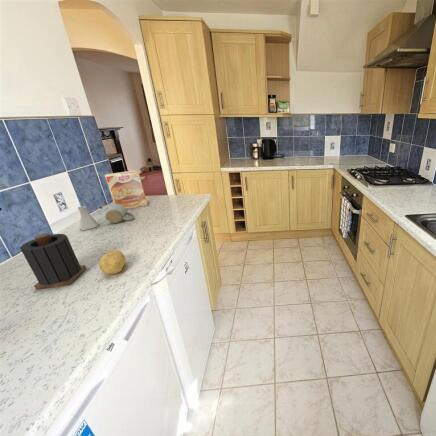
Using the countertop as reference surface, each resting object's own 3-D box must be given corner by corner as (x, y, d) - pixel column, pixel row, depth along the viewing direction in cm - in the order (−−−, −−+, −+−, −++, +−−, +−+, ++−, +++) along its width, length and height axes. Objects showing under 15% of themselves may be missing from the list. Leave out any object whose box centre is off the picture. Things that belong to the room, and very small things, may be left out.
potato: (98, 282, 75) (91, 265, 73) (108, 263, 85) (102, 248, 82) (123, 276, 77) (117, 260, 75) (130, 259, 87) (125, 243, 84)
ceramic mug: (107, 225, 115) (102, 210, 112) (112, 218, 122) (107, 204, 119) (132, 221, 118) (128, 207, 115) (136, 215, 125) (132, 202, 122)
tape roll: (29, 284, 73) (10, 250, 68) (60, 265, 82) (45, 233, 77) (60, 285, 72) (43, 250, 67) (88, 265, 81) (74, 233, 76)
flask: (98, 222, 118) (91, 203, 115) (99, 227, 113) (92, 207, 109) (80, 226, 114) (71, 207, 110) (80, 231, 109) (71, 211, 105)
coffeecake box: (117, 211, 131) (105, 176, 124) (115, 208, 136) (103, 174, 128) (148, 204, 141) (138, 171, 133) (144, 202, 145) (135, 169, 138)
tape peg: (36, 289, 73) (10, 244, 66) (56, 272, 81) (35, 230, 75) (70, 285, 74) (48, 240, 68) (86, 268, 82) (68, 227, 76)
